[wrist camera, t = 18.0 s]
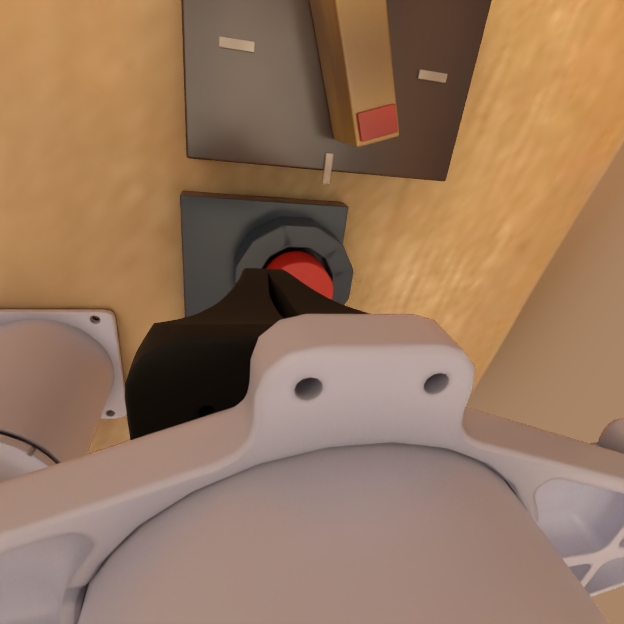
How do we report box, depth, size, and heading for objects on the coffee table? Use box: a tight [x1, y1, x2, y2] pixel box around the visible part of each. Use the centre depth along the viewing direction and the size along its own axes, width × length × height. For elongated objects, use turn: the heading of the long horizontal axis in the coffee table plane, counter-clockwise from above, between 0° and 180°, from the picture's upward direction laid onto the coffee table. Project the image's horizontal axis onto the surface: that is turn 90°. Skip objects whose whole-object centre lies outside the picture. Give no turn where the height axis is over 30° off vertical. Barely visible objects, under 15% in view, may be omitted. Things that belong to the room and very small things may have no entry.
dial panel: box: [181, 0, 492, 184], centre depth 18 cm, size 13×10×3 cm
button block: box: [180, 191, 353, 317], centre depth 22 cm, size 9×8×3 cm
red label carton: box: [310, 0, 399, 147], centre depth 15 cm, size 6×2×4 cm, turn 13°
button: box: [266, 251, 333, 300], centre depth 21 cm, size 4×4×2 cm
